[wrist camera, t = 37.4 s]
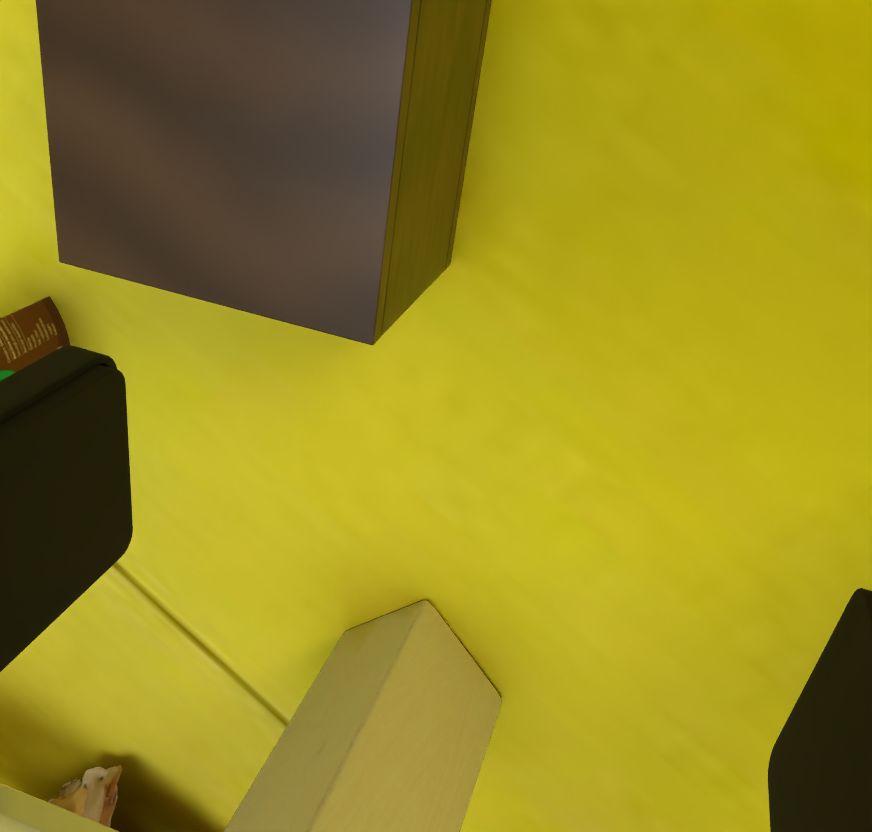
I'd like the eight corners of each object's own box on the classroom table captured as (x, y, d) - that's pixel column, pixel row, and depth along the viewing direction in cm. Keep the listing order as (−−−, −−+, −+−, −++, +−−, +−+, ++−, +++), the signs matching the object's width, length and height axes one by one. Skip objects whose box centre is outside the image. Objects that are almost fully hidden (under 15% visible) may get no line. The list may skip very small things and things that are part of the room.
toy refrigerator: (331, 632, 49) (110, 998, 32) (426, 594, 46) (237, 983, 28) (407, 727, 51) (239, 1125, 33) (504, 698, 48) (374, 1126, 30)
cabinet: (195, -139, 32) (18, -179, 24) (506, -91, 30) (425, -118, 22) (196, 204, 39) (58, 262, 31) (450, 265, 37) (373, 345, 29)
